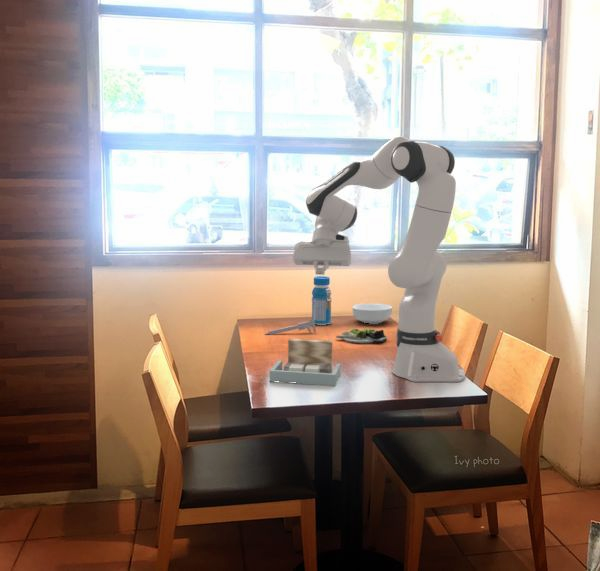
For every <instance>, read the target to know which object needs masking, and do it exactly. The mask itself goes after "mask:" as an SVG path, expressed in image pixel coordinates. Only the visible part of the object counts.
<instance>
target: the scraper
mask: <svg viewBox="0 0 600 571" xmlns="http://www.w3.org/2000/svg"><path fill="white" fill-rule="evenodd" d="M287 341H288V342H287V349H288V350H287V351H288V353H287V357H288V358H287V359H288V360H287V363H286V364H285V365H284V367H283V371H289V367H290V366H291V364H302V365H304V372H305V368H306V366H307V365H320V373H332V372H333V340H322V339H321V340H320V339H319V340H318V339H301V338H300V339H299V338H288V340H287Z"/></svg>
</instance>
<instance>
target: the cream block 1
mask: <svg viewBox="0 0 600 571" xmlns="http://www.w3.org/2000/svg"><path fill="white" fill-rule="evenodd" d="M289 371H300V372H304V365H302V364H291V366H290V367H289Z"/></svg>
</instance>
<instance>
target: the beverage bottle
mask: <svg viewBox="0 0 600 571" xmlns="http://www.w3.org/2000/svg"><path fill="white" fill-rule="evenodd" d="M330 281H331V280H330V276H325V275H318V276H317V275H316V276H314V277H313V285H314V287H313V289H312V292H311V294H312V296H311V318H312V320H314V322H315V324H317V325H316V326H327V325H326V324H329V325H330V324H332V297H331V295H332V290H331V289H330V287H329V286H330V283H331V282H330Z"/></svg>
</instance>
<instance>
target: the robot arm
mask: <svg viewBox="0 0 600 571" xmlns="http://www.w3.org/2000/svg"><path fill="white" fill-rule="evenodd" d="M455 160H456V158H455V156H454V154H453V152H452V151H451V150H449V149H448V148H446V147H444V146H443V145H442V146H441V145H436V144H433V143H429V142H425V141H413V140H410V139H409V138H408V137H405V136H403V135H401V136H395V137H393V138H392V139H390V140H389V141H387V142H386V143H385V144H384V145H382V146H381V147H380V148H379V149H378V150H377V151H375V153H374V154H372V156H370V157H368V158H366V159H364V160H361V161H360V160H359V161H352V162H351V163H349V164H348V165H346V166H345V167H343V168H342V169H341V170H340V171H338V172H337V173H336V174H334V175H333V176H332V177H330V178H329V179H328V180H326V181H325V182H323V183H322V184H320V185H318V186H316V187H315V188H312V190H311V191H310V192H309V194H308V196H307V197H306V200H305V205H306V208H307V210H308V213H309V214H310V215H314V216H316V218H315V222H314V231H313V235H312V240H311V241H299V242H297V243H295V244H294V249H293V250H294V251H293V255H292V261H293V263H294V264H295V265H296V266H313V267H314V270H315V275H316V276H317V275H318V276H325V273H326V272H325V271H327V270H328V269H329V267H332V266H333V267H334V266H335V267H337V266H338V267H349V266H350V265H351V264H352V253H351V252H352V251H351V246H350V240H349V237H348V236H346V235H343V234H339V233H342V232H344V231H346V230H348V229H350V228H352V227H353V226H354V224H355V223H356V220H357V217H358V208H357V206H356V205H357V204H355V203H353V202H352V201H350V200H348V199H346V198H344V197H342V196H340V195H338V192H340V191H341V190H343V189H344V188H346V187H347V186H359V187H364V188H365V187H366V188H369V189H372V190H382V189H383V190H384V189H387V188H388V187H390V186H392V185H393V184H394V183H396V181H398V179H399V178H400V177H402V178H404V179H406V180H407V182H409V183H415V182H416V183H417V186H418V191H417V192H418V193H417V197H416V201H415V204H414V208H413V212H412V217H411V220H410V222H409V228H408V229H407V230H408V231H407V232H406V235H405V237H404V239H403V242H402V243H401V245H400V247H399V250H398V252H397V253H396V255H395V257H394V258H393V259H392V260H391V261H390V263H389V265H388V266H387V268H388V269H387V275H388V277H389V280H390V282H391V283H392V284H393V285H394V286H396V287H397V288H401V289H404V290H405V291H404V293H403V296H402V299H400V302H399V305H398V328H397V329H396V337H395V338H396V348H397V349H396V355H395V360H394V365H393V368H392V370H391V371H392V372H391V373H392V374H394V375H395V376H397V377H399V378H402V379H406V380H408V381H410V382H415V383H416V382H420V383H421V382H427V383H429V382H431V383H432V382H433V383H435V382H439V383H440V382H444V383H445V382H447V383H448V382H449V383H452V382H453V383H455V382H462V381H464V380H465V379H466V372H465V370H464V369H463V368H461V367H460V366H459V363H458V358H457V355H456V354H455V353H454V352H453V351H452V350H451V349H449V348H448V347H447V346H446V345H445V344H443V343H442V342H441V341H443V335H442V333H441V332H440V331H439V330H436V329H435V318H436V317H435V316H436V305H437V299H438V294H439V291H440V287H441V283H442V279H443V277H444V274H445V273H446V270H447V265H448V264H447V261H446V258H445V256H444V255H443V254H442V252H441V253H440V251H437V250H438V248H439V247H440V245H441V243H442V242H443V241H444V239H445V238H446V235H447V232H448V228H449V223H450V219H451V216H452V213H453V208H454V204H455V197H456V189H457V188H456V187H457V182H456V179H455V177H454V176H453V175H452V172H453V170H454V169H455V162H456V161H455ZM319 266H322V267H319Z"/></svg>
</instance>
